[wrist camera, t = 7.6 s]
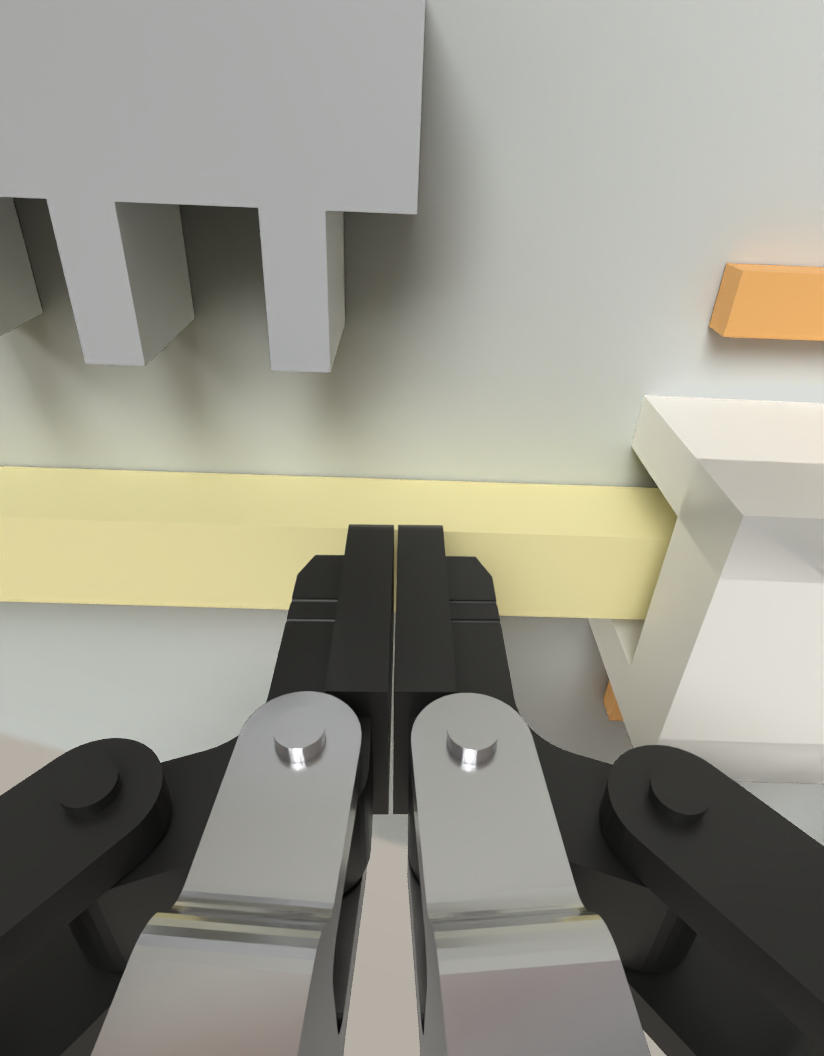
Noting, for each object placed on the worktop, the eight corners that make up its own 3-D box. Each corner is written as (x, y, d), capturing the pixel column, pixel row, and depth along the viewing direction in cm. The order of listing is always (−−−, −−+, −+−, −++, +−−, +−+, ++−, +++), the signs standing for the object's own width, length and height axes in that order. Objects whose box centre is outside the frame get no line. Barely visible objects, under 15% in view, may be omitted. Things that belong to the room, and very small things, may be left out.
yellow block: (-180, 460, 12) (-265, 509, 11) (991, 498, 13) (1070, 551, 11) (-140, 539, 13) (-212, 595, 12) (947, 573, 14) (1014, 630, 12)
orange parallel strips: (727, 263, 10) (742, 270, 10) (1033, 275, 10) (1064, 284, 10) (603, 701, 16) (609, 720, 15) (806, 706, 16) (819, 725, 15)
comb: (-199, -43, 8) (-394, -93, 6) (423, -11, 9) (426, -51, 6) (-74, 308, 11) (-187, 353, 9) (410, 327, 11) (410, 375, 9)
